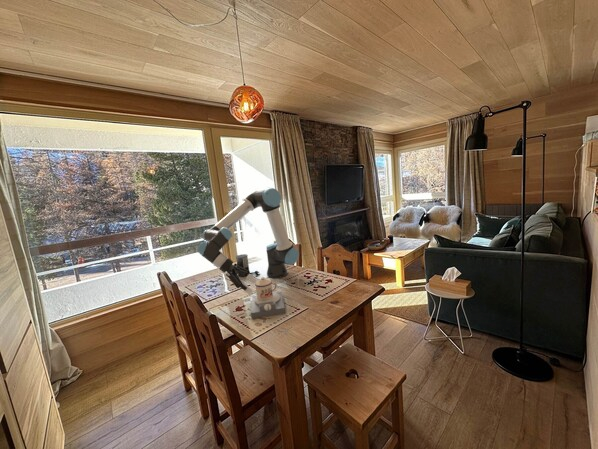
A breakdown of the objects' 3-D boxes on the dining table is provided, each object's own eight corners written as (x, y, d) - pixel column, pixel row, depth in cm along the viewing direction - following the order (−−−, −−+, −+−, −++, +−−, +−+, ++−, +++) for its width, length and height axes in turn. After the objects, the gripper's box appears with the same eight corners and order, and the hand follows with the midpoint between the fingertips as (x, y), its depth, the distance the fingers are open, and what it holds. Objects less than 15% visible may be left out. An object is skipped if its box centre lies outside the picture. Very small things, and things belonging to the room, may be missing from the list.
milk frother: (237, 273, 197) (235, 255, 194) (257, 270, 201) (255, 252, 198) (238, 279, 183) (235, 260, 181) (260, 275, 187) (257, 256, 185)
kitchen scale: (253, 301, 146) (251, 290, 145) (282, 296, 148) (281, 286, 147) (251, 318, 127) (250, 307, 126) (285, 313, 129) (284, 301, 128)
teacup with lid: (260, 303, 133) (257, 282, 131) (254, 297, 141) (251, 277, 139) (280, 296, 139) (278, 276, 137) (274, 291, 147) (271, 272, 145)
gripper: (226, 261, 149) (254, 283, 151) (210, 276, 125) (244, 302, 126) (233, 251, 148) (262, 274, 150) (219, 265, 124) (253, 292, 125)
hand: (254, 287), depth 138 cm, fingers open, 13 cm apart
